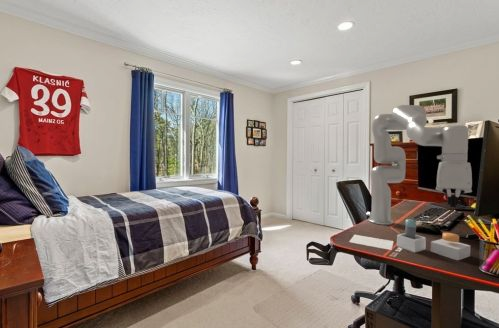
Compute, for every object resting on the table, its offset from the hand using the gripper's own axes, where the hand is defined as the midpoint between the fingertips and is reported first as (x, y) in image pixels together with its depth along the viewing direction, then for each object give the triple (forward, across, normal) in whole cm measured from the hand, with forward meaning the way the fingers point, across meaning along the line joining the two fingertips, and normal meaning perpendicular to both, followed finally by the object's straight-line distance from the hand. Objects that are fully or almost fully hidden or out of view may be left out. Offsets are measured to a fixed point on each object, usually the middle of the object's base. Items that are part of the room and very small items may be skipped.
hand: (452, 206), depth 96 cm
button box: (+18, 0, 0) cm, 18 cm away
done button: (+13, 0, 0) cm, 13 cm away
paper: (+18, -27, -2) cm, 33 cm away
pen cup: (+18, -13, -2) cm, 22 cm away
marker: (+18, -13, -2) cm, 22 cm away
